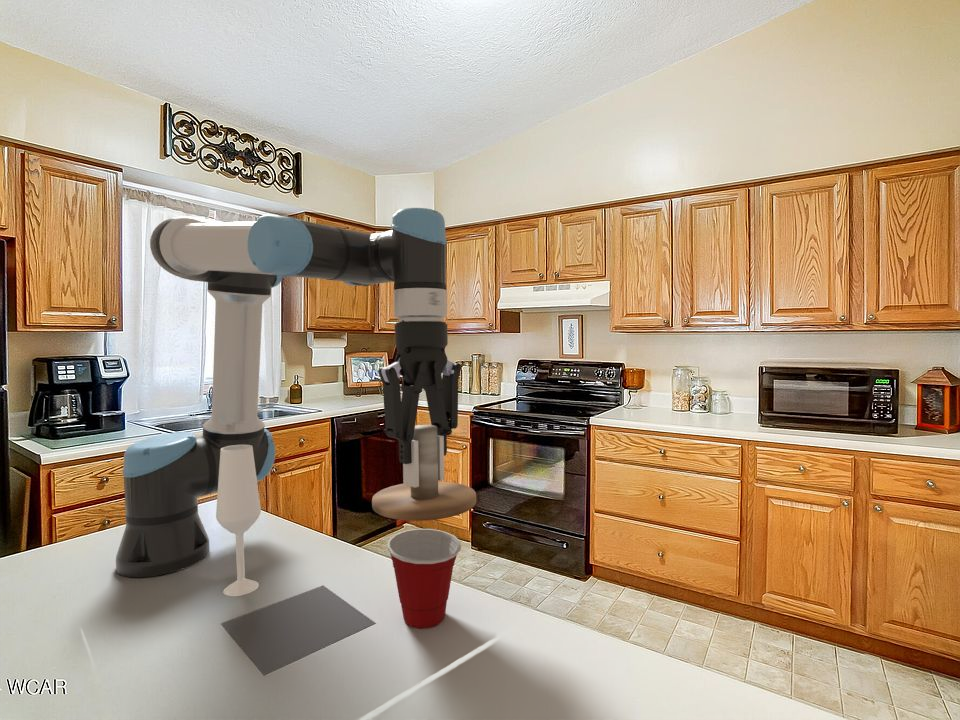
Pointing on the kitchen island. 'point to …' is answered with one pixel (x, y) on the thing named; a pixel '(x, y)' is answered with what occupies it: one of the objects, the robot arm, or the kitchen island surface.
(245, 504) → the champagne flute
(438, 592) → the plastic cup
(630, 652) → the kitchen island surface
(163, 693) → the kitchen island surface
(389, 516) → the lid
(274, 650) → the mat
